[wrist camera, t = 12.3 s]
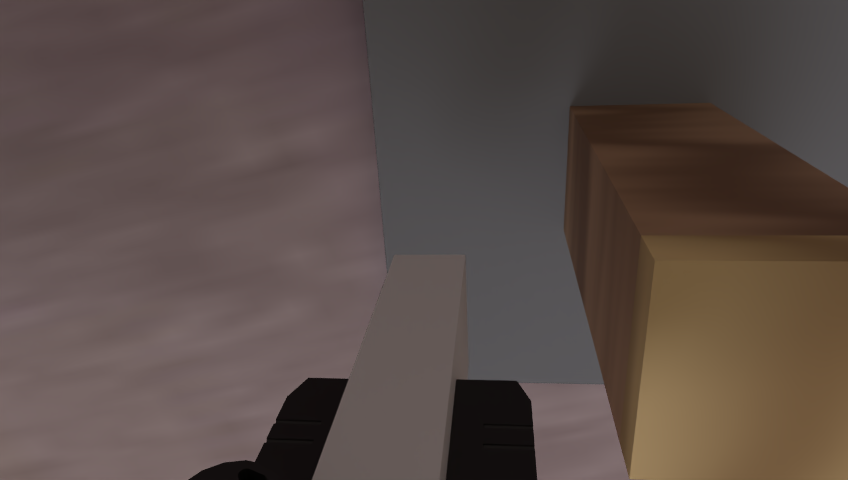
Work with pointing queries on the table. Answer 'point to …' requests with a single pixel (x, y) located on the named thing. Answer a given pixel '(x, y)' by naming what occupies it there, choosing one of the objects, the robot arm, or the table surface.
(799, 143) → the mat
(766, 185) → the post
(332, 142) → the table surface
